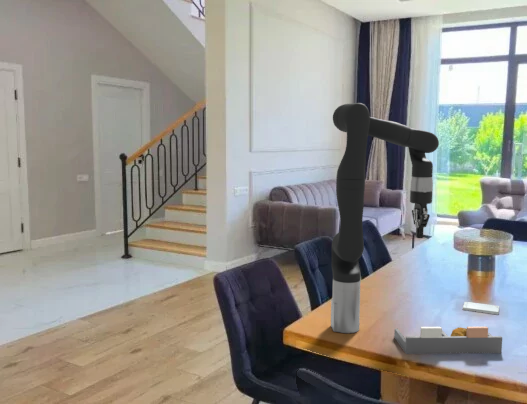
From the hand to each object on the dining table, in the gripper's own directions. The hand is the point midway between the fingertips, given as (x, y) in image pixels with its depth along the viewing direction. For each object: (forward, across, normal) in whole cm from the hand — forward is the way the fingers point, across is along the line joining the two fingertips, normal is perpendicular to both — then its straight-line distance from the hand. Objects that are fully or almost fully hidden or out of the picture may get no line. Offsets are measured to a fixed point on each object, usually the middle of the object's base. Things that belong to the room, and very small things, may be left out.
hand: (419, 237), depth 186 cm
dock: (+29, +26, +1) cm, 39 cm away
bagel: (+30, +27, +8) cm, 40 cm away
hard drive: (+30, -8, +27) cm, 41 cm away
